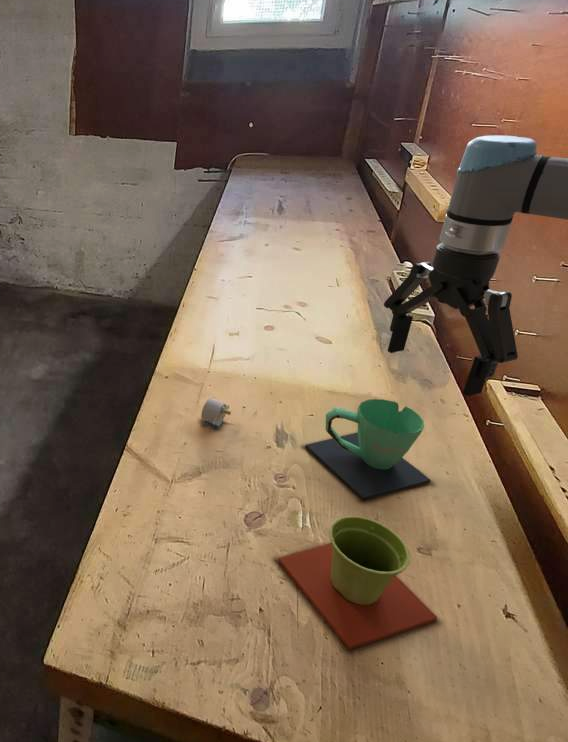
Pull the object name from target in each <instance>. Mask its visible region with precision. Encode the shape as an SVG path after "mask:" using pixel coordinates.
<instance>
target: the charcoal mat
mask: <svg viewBox="0 0 568 742" xmlns="http://www.w3.org/2000/svg"><path fill="white" fill-rule="evenodd" d="M340 438H341V439H343V440H345V441H347V442H349V443H351V444H353V445H355V446H357V447H359V442H358V432H354V433H350V434H345V435H342V436H340ZM305 448H306V450H307V451H308V452H310V453H311V454H312V455H313V456H314V457H315V458H316V459H317V460H318V461H319V462H320V463H322V464H323V465H324V466H325V468H327V469H328V470H329V471H330V472H332V473H333V474H334V476H335V477H337V478H338V479H339V480H340V481H341V482H342V483H343V484H344V485H345V486H346V487H348V488H349V490H351V491H352V492H353V493H354V494H355V495H356V496H357V497H359V498H360V499H361V500H362V501H366V500H369V499H373V498H377V497H381V496H385V495H388V494H393V493H396V492H400V491H403V490H407V489H411V488H414V487H418V486H422V485H426V484H429V483H431V482H432V481H431V480H432V479H430V478H429V477H428V476H426V475H425V474H424V473H423V472H421V471H420V470H419V469H417V468H416V467H415V466H414V465H412V464H411V463H410V462H408V461H407V460H406V459H404V457H402V458H401V459H400V460H399V461H398V462H397V463H396V464H394V465H393V466H392V467H391V468H389V469H385V470H383V469H377V468H374V467H371V466H369V465H368V464H366V463H365V462H364V461H363V459H362V458H361V457H359V456H357V455H355V454H353V453H351V452H349V451H347V450H345V449H343V448H341V447H340V446H339V445H338V444H337V442H336V441H335V440H334V439H333V438H332V437H331V438H328V439H326V440H320V441H316V442H312V443H307V444H305Z"/></svg>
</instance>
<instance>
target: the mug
mask: <svg viewBox="0 0 568 742" xmlns="http://www.w3.org/2000/svg"><path fill="white" fill-rule="evenodd" d="M399 407H400V406H399V403H398V402H396V401H393V400H389V399H384V398H383V399H382V398H381V399H380V398H372V399H371V398H370V399H366V400H364V401H362V402H360V404H359V405H358V407H357V410H356V411H357V412H355V411H352V410H348V409H346V408H339V407H334V408H332V409H331V410H329V411H327V412H326V413H325V428H324V429H325V432H326V433H327V434H328V435H329V436H330V438H331V439H332V438H333V439H334V440H335V441H336V442H337V444H338V445H339V446H340V447H341V448H343V449H345V450H347V451H349V452H351V453H353V454H355V455H357V456H359V457H361V458H362V459H363V461H364V462H365V463H366V464H368V465H369V466H371V467H374V468H377V469H383V470H385V469H389V468H391V467H392V466H393V465H394V464H396V463H397V462H398V461H399V460H400V459H401V458H404V457H405V456H406V454H407V453H408V452H409V450H410V449H411V447H412V446H413V445H414V443H415V442H416V441H417V439H418V438H419V437H420V435H421V433H422V432H423V430H424V427H425V423H424V419H423V418H422V417H421V415H420V414H419V413H417V412H416V411H414V410H413V409H412V408H410V407H408V406H404V407H403V408H402V409H401V410H399ZM335 419H342V420H347V421H350V422H353V423H356V424H357V433H358V442H359V447H357V446H355V445H353V444H351V443H349V442H347V441H345V440H343V439H341V438H340V437H341V436H340V435H339V434H338V432H337V431H336V430H335V429H334V428H333V426H332V424H333V420H335Z"/></svg>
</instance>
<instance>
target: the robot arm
mask: <svg viewBox="0 0 568 742" xmlns="http://www.w3.org/2000/svg"><path fill="white" fill-rule="evenodd" d="M537 147H538V144H537V141H536V140H534V139H533V138H530V137H525V136H524V137H523V136H517V135H498V134H497V135H496V134H494V135H481V136H477V137H475V138H473V139H472V140H470V141H468V143H467V144H466V147H465V150H464V153H463V155H462V159H461V161H460V163H459V167H458V168H457V170H456V176H455V179H454V183H453V187H452V191H451V196H450V199H449V203H448V206H447V210H446V214H445V217H444V221H443V225H442V228H441V231H440V235H439V241H440V243H439V244H437V245H436V248H435V252H434V255H433V259H432V263H431V262H430V261H425V262H417V263H414V264H412V267H411V268H410V272H409V273H408V276H406V278H405V279H404V280H403V281H402V282H401V283H400V284H399V285H398V286H397V288H396V289H395V290H394V291H393V292H392V293H391V294H390V296H389V297H387V299H386V300H385V301H384V303H383V306H384V308H386V309H389V310H390V311H391V314H392V318H391V322H390V326H389V331H390V332H391V336H390V340H389V344H388V348H387V352H388V353H389V354H393V353H398V352H399V353H400V352H403V351H404V350H405V348H406V344H407V341H408V337H409V333H410V330H411V326H412V322H413V318H414V316H412V315H410V314H411V313H412V312H413V311H416V310H417V309H419V308H421V307H423V306H424V305H427V304H428V303H429V302H432V301H434V300H435V299H436V302H438V303H440V304H445V305H447V306H449V307H450V308H452V309H454V310H459V313H460V315H461V316H462V317H464V318H465V320H466V323H467V325H468V328H469V330H470V332H471V334H472V337H473V339H474V342H475V344H476V346H477V349H478V352H479V355H477V356H476V355H475V356H474V358H473V361H472V364H471V367H470V370H469V372H468V376H467V379H466V382H465V385H464V387H463V391H462V395H464V396H466V397H471V396H474V395H478V394H481V393H482V392H483V389H484V386H485V384H486V380H489V379H492V378H493V377H494V375H495V373H496V370H497V367H498V365H499V364H504V363H508V362H512V361H516V360H517V359H518V358H519V357H518V356H519V355H518V351H517V343H516V337H515V333H514V327H513V321H512V316H511V309H510V306H511V303H512V297H513V295H512V292H510V291H496V290H493V289H490V282H491V279H492V278H493V277H494V276H495V273H496V270H497V267H498V264H499V262H500V258H501V253H500V251H501V250H503V249H504V246H505V243H506V241H507V238H508V235H509V231H510V229H511V225H512V222H513V219H514V215H515V213H520V214H521V213H522V214H526V215H533V216H540V217H547V218H554V219H560V220H568V158H567V157H554V156H553V157H551V156H544V155H540V154H537V153H538V151H537ZM427 278H428V281H429V283H430V286H429V287H427V288H425V289H424V290H422V291H420V293H418V294H417V295H415V296H413V297H412V298H410V296H411V295H412V294H413V293H414V292H415V291H416V290H417V289H418V288H419V287H420V285H421V284H423V283H424V282H425V280H426V279H427ZM408 298H410V299H408ZM407 299H408V300H407ZM484 299H485V301H484ZM406 300H407V301H406ZM472 306H474V308H471V307H472Z"/></svg>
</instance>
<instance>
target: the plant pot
mask: <svg viewBox="0 0 568 742" xmlns="http://www.w3.org/2000/svg"><path fill="white" fill-rule="evenodd" d="M329 540H330V543H332V547H333V554H332V568H331V581H332V584H333V586H334V588H335V589H337V590H338V591H339V592H340V593H341V594H342V595H343V597H344V598H346V599H348V600H349V601H351V602H354V603H357V604H361V605H369V604H372V603H374V602H376V601H377V600H378V599H379V598H380V596H381V595H382V593H383V592H384V590H385V589H386V587H387V586H388V584H389V583H390V581H391V580H392V579H393V577H394V576H397V575H398V574H401V573H403V572H404V571H405V570H407V568H408V567H409V565H410V562H411V554H410V551H409V550H410V549H409V548H408V546H407V545H406V543H405V541H404V540H403V539H402V538H401V537H400V536H399V535H398V534H397V533H396V532H395V531H394V530H392V528H390V527H388V526H386V525H385V524H383V523H381V522H379V521H377V520H374V519H372V518H368V517H364V516H358V515H348V516H347V515H345V516H341V517H339V518H337V519H335V520H334V521H333V522H332V524H331V525H330V526H329Z"/></svg>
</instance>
